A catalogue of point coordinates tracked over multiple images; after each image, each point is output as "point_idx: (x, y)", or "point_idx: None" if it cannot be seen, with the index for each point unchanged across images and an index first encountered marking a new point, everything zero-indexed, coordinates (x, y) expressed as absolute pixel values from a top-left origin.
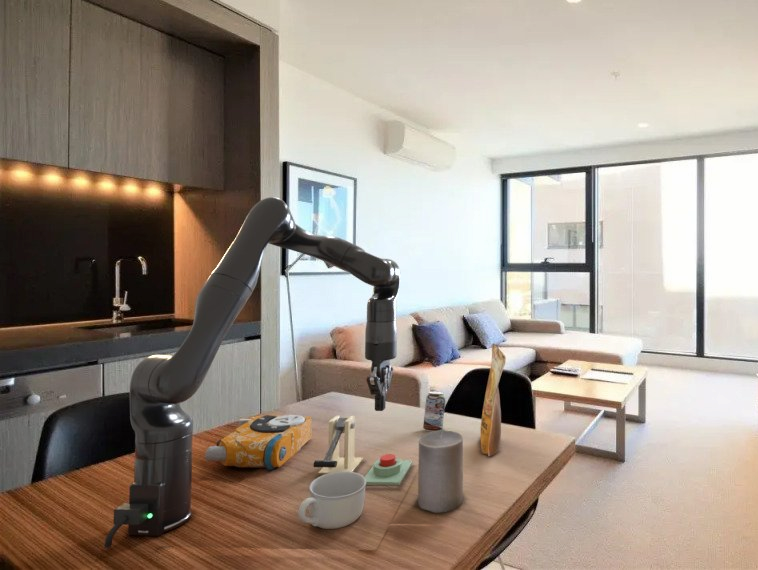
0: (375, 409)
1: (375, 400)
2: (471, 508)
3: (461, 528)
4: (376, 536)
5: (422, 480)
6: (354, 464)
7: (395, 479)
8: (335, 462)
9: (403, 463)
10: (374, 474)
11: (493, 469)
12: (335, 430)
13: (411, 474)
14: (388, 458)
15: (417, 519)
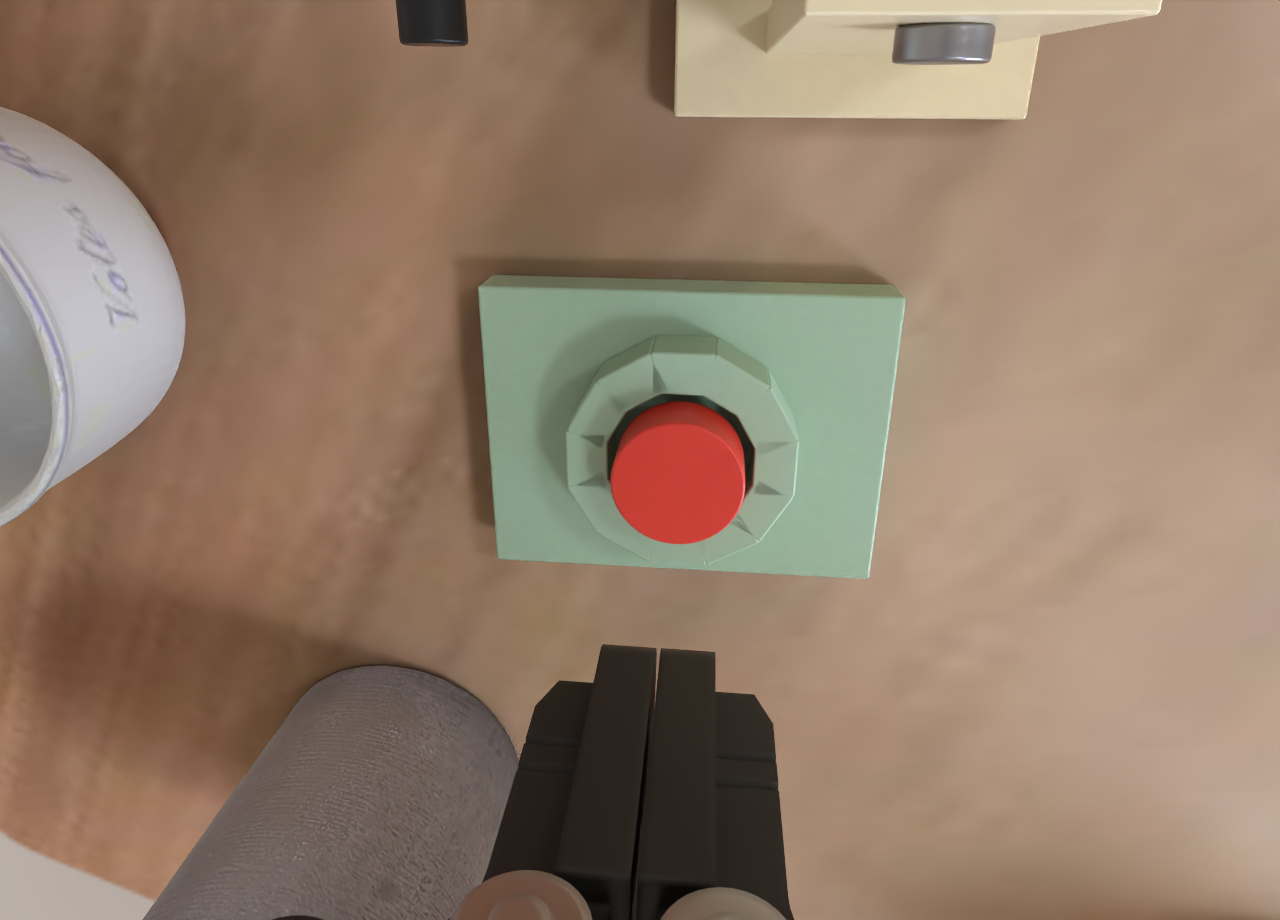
0: (601, 658)
1: (504, 812)
2: None
3: None
4: (28, 527)
5: (221, 811)
6: (858, 85)
7: (536, 528)
8: (413, 43)
9: (808, 530)
10: (606, 358)
11: None
12: None
13: None
14: (646, 498)
15: (218, 679)
